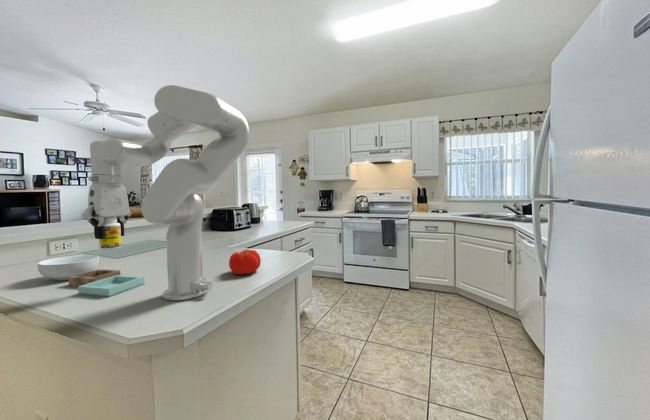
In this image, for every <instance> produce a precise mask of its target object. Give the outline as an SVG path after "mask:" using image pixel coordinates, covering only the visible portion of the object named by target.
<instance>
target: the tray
mask: <svg viewBox="0 0 650 420" xmlns="http://www.w3.org/2000/svg"><path fill="white" fill-rule="evenodd" d="M143 285H145V276H133V275H120V276H119V275H116V276H112V277H109V278H105V279H102V280H98V281H95V282H92V283H88V284H85V285H81V286H77V292H78V293H77V294H78V295H82V296H91V297H93V296H94V297H102V298H103V297H105V298H111V297H114V296H117V295H119V294H121V293H124V292H127V291H129V290H133V289H136V288H138V287H141V286H143Z"/></svg>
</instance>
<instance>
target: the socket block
mask: <svg viewBox="0 0 650 420" xmlns="http://www.w3.org/2000/svg"><path fill="white" fill-rule="evenodd" d="M116 275H119V276H121V269H120V270H119V269H101V268H100V269H99V268H98V269H94V270H93V271H90V272H86V273H82V274H78V275H74V276H70V277H68V279H69V280H68V286H69V287H78V286H81V285H85V284H88V283H92V282H95V281H98V280H102V279H105V278H109V277H112V276H116Z"/></svg>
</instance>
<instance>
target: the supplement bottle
mask: <svg viewBox="0 0 650 420" xmlns="http://www.w3.org/2000/svg"><path fill="white" fill-rule="evenodd" d="M102 226H104V227H105V238H104V239H98V242H99V244H98V246H99V247H98V248H99V250H101V251H113V250H118V249H121V247H122V236H121V226H120V223H117V217H114V216H111V217H105V218H104V221H103V224H102Z"/></svg>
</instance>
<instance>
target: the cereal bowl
mask: <svg viewBox="0 0 650 420" xmlns="http://www.w3.org/2000/svg"><path fill="white" fill-rule="evenodd" d="M99 263H100V257H99V255H98V254H96V255H95V254H83V255H81V254H80V255H70V256H61V257H60V256H58V257H54V258H48V259H45V260H42V261H38V262H37V270H38V273H39V274H40V275H41V276H43V277H45V278H48V279H53V280H56V281H69V279H68V277H70V276H74V275H78V274H82V273H86V272H90V271H94V270H97V268H98V266H99Z"/></svg>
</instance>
